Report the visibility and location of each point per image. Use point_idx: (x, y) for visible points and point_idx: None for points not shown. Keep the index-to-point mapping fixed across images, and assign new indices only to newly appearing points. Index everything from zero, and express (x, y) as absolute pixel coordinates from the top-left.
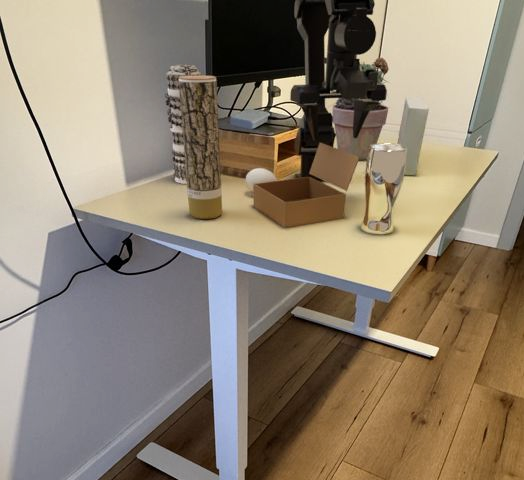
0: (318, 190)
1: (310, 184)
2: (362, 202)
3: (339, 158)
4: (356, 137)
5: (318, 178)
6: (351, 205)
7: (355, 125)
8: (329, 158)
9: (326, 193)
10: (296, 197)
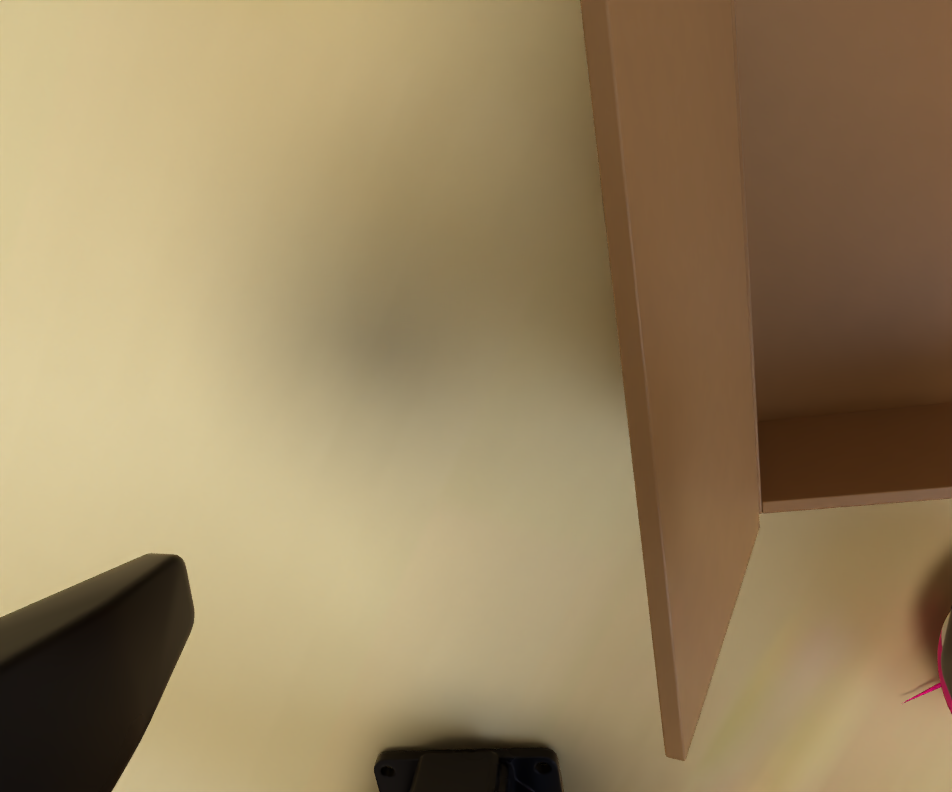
0: None
1: None
2: (335, 207)
3: (660, 107)
4: (160, 554)
5: (464, 753)
6: (452, 158)
7: (65, 748)
8: (693, 350)
9: None
10: (843, 417)
